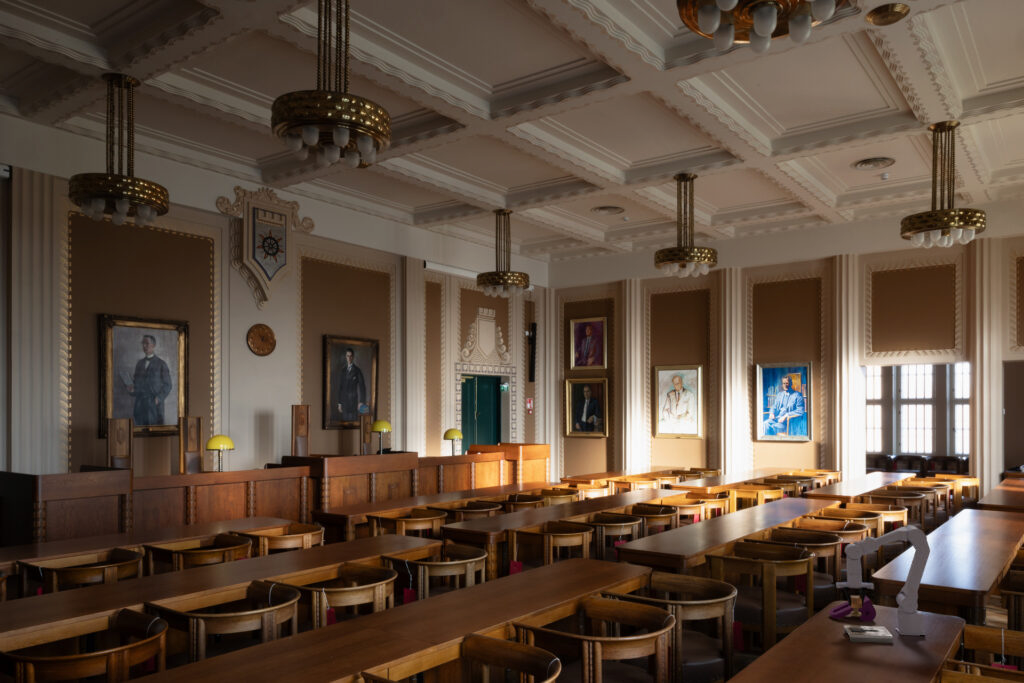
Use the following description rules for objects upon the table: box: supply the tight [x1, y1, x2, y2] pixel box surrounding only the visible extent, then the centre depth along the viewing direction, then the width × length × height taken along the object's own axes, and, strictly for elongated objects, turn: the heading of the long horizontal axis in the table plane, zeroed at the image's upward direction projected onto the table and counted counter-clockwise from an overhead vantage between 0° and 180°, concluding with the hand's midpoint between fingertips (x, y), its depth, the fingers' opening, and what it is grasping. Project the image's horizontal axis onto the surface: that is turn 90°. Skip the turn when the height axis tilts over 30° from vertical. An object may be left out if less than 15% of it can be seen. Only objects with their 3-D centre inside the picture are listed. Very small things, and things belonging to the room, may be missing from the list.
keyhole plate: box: [843, 624, 894, 644], centre depth 321 cm, size 16×12×3 cm
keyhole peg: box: [850, 595, 862, 618], centre depth 332 cm, size 4×4×8 cm
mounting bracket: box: [828, 595, 877, 622], centre depth 349 cm, size 10×8×18 cm
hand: (855, 605), depth 332 cm, fingers closed on keyhole peg, 4 cm apart
